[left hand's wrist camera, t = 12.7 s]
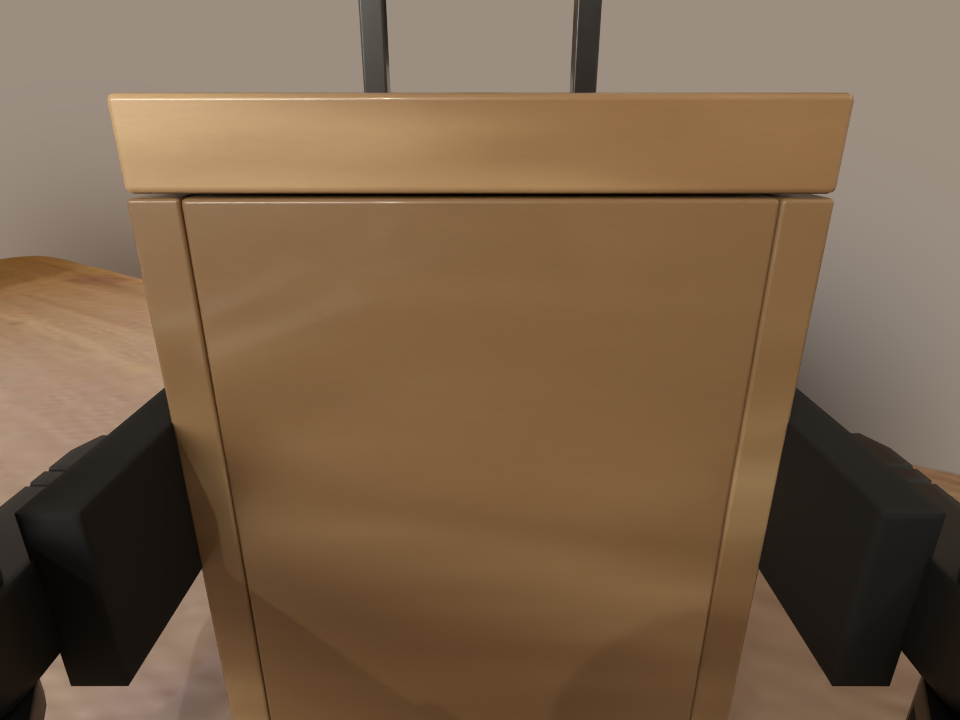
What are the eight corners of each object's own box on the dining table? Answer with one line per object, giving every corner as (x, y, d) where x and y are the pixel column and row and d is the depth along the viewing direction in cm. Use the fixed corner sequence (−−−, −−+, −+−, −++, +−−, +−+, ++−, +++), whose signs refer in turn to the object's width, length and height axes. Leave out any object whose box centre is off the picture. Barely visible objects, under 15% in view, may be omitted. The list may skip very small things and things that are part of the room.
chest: (366, 433, 25) (345, 153, 21) (593, 433, 25) (614, 153, 21) (242, 772, 12) (124, 198, 8) (718, 772, 12) (836, 198, 8)
